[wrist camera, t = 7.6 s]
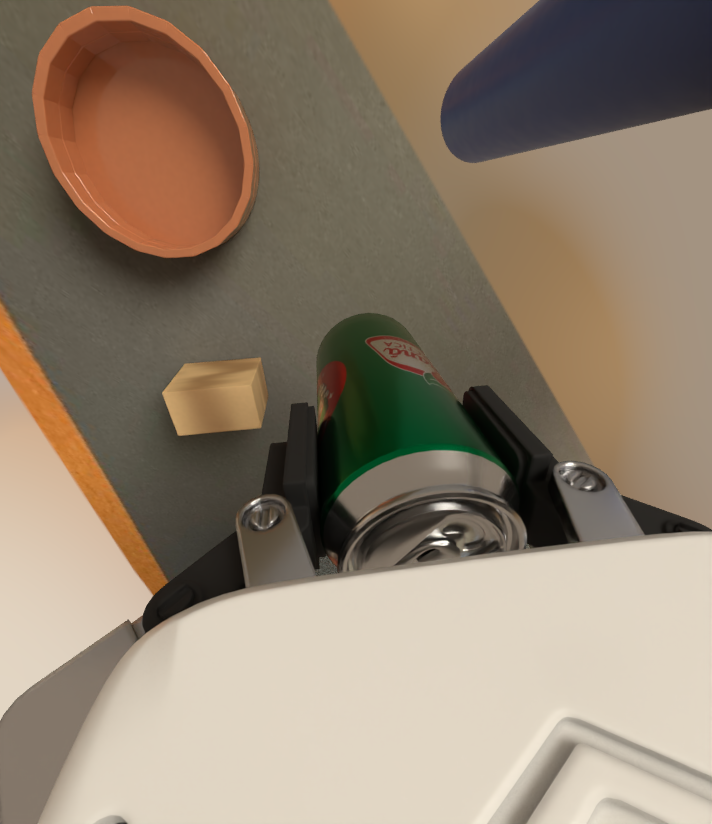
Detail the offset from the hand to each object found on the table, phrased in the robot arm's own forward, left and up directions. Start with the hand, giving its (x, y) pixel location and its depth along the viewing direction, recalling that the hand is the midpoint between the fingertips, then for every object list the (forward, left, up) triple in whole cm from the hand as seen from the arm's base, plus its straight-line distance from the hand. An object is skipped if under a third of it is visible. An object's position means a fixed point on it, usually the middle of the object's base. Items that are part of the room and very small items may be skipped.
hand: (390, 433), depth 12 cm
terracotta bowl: (+10, -10, -17) cm, 22 cm away
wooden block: (+10, +5, -17) cm, 21 cm away
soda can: (0, 0, -7) cm, 7 cm away
